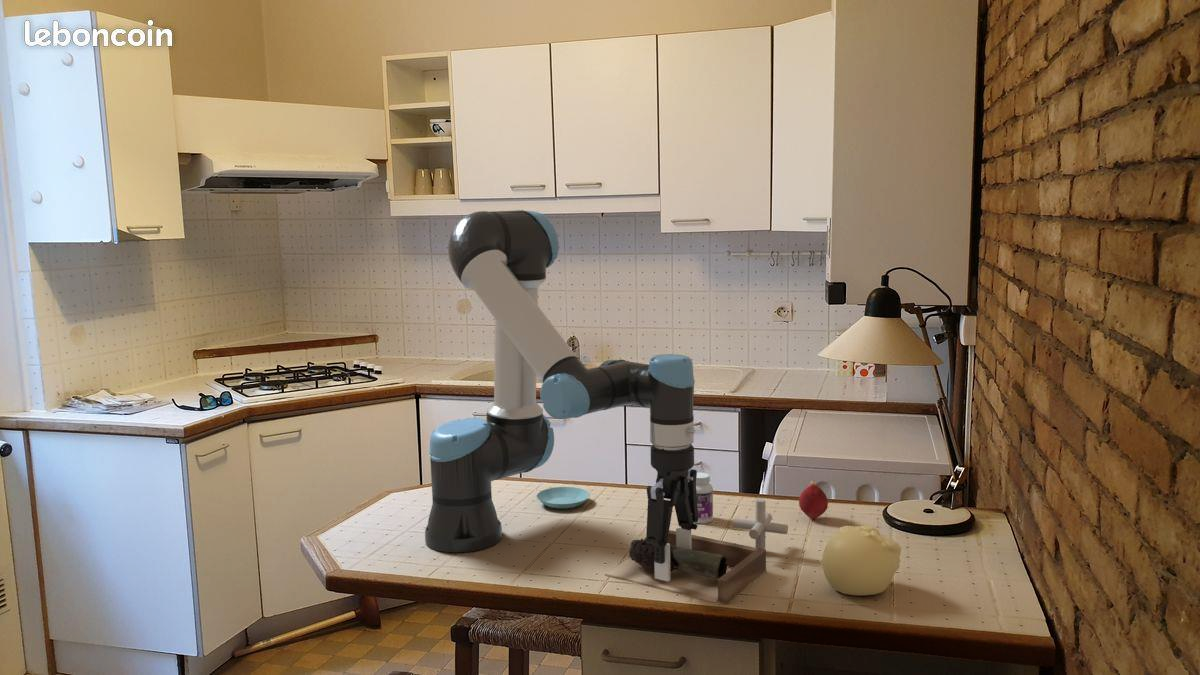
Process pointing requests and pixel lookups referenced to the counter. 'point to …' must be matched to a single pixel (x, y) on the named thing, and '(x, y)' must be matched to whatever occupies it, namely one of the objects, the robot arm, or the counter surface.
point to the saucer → (563, 497)
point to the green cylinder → (680, 560)
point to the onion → (813, 501)
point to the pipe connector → (760, 525)
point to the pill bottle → (704, 498)
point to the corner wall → (730, 563)
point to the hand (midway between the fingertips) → (673, 571)
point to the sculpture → (860, 560)
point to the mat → (677, 584)
